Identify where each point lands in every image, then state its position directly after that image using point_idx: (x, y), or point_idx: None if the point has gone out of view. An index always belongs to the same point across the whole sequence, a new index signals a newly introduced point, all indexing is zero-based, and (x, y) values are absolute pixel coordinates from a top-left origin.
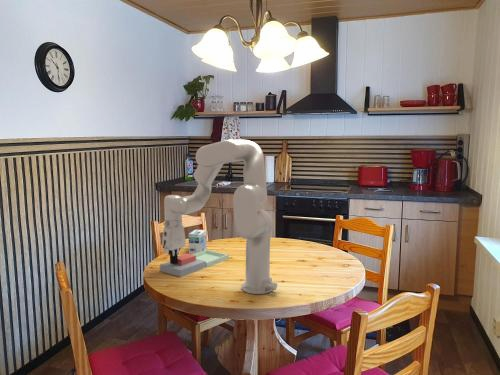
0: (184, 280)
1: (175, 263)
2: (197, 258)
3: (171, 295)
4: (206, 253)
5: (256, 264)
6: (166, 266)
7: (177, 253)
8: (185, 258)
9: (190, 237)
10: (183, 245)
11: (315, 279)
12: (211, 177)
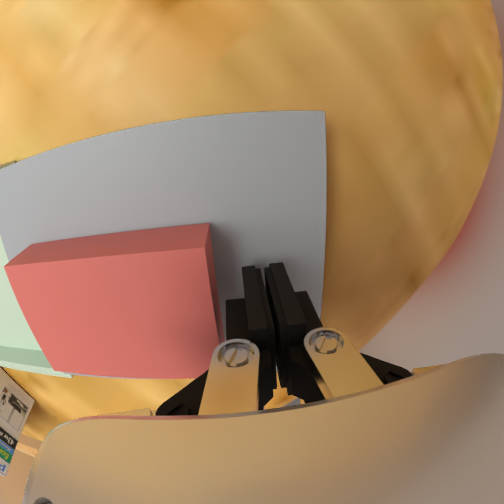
0: (334, 39)
1: (278, 264)
2: (10, 331)
3: (486, 5)
4: None
5: None
6: (320, 307)
7: (241, 355)
8: (124, 272)
9: (2, 456)
10: (98, 441)
11: None
12: None
